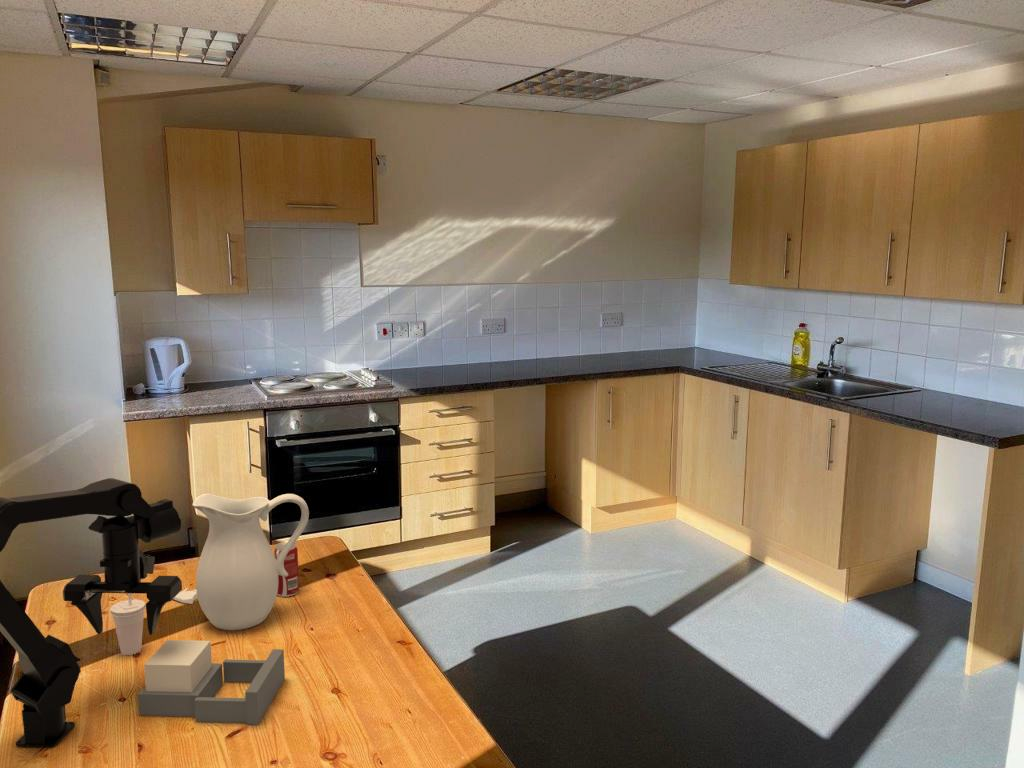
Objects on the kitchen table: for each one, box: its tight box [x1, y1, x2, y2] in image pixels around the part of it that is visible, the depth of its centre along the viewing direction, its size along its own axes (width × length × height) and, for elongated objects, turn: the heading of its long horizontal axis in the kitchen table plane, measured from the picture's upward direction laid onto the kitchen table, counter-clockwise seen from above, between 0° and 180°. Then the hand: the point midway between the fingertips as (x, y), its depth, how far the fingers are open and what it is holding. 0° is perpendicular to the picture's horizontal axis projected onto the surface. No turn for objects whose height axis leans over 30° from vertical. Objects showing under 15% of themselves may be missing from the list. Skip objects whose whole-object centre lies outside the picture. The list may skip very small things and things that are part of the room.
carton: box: [144, 639, 213, 692], centre depth 146 cm, size 9×8×5 cm
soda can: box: [273, 540, 300, 598], centre depth 191 cm, size 5×5×12 cm
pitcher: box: [192, 493, 310, 631], centre depth 177 cm, size 24×17×28 cm
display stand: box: [137, 648, 286, 726], centre depth 146 cm, size 15×22×6 cm
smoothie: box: [110, 593, 146, 656], centre depth 163 cm, size 6×6×14 cm
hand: (126, 633), depth 146 cm, fingers open, 9 cm apart
